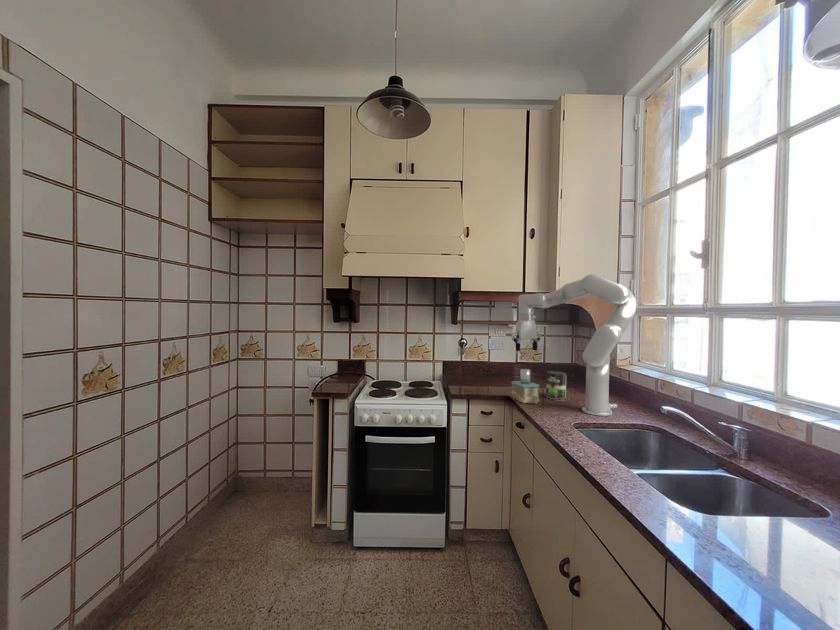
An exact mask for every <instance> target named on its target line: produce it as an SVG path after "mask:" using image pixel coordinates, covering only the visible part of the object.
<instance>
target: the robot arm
mask: <svg viewBox="0 0 840 630" xmlns="http://www.w3.org/2000/svg"><path fill="white" fill-rule="evenodd" d="M592 295H593V296H595V297H597V298H599V299H601V300H605V301H607V302H609V303H611V304H614V308H613V309H612V312H611V313H610V314H609V317H608V318H607V320H606V321H605V323H604V324H603V325H601V326H599V327H598V328H597V329H596V331H595V332H594V334H593V335H592V337H591V339H590V341H589V342H588V343H587V345H586V347H585V349H584V350H583V352H582V360H583V362H584V363H585V365H586V369H585V370H586V372H585V406H582V408H581V411H582V412H583V413H586V414H589V415H591V416H600V417H609V416H612V415H613V411H612V409H617V408H618V405H617V403H610V402H609V401H610V400H609V398H610V397H609V395H610V394H609V392H610V391H609V390H610V386H609V385H610V364H611V353H612V351H613V350H614V348H615V347H616V345H617V344H618V343H619V342H620V341H621V339H622V338H623V335H624V333H625V332H626V330H627V329H628V326H629V325H630V323H631V321H632V320H633V318H634V316H635V314H636V311H637V305H638V304H637V299H636V297H635V295H634V294H633V292H631V290H630V289H629V288H627V286H624V285H623V284H620V283H617V282H614V281H613V280H609V279H606V278H604V277H602V276H600V275H598V274H595V273H594V274H593V273H590V274H587V275H585V276H584V277H583V278H582V279H578V280H575V281H572V282H568V283H566V284H564V285H562V287H560V288H558V289H557V290H554V291H551V292H547V293H541V292H537V293H531V294H526V293H525V294H520V295H518V320H516V325H515V326H516V327H515V332H513V333H512V334H511V335H510V337H511V339H512V341H513V342H514V344H515V351H518V352H521V343H520V342H521V341H523V340H531V341H532V350H533V351H537V350H538V343H539V341H540V340H541V338H542V334H541V333H540V332H538V331H537V325H536V320H535V319H536V318H537V317H536V315H535V314H534V313H535V311H534V308H537V309H549V308H551V307H555V306H559V305H562V304H565V303H568V302H571V301H574V300H575V301H576V300H578V299H582V298H585V297H589V296H592Z"/></svg>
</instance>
